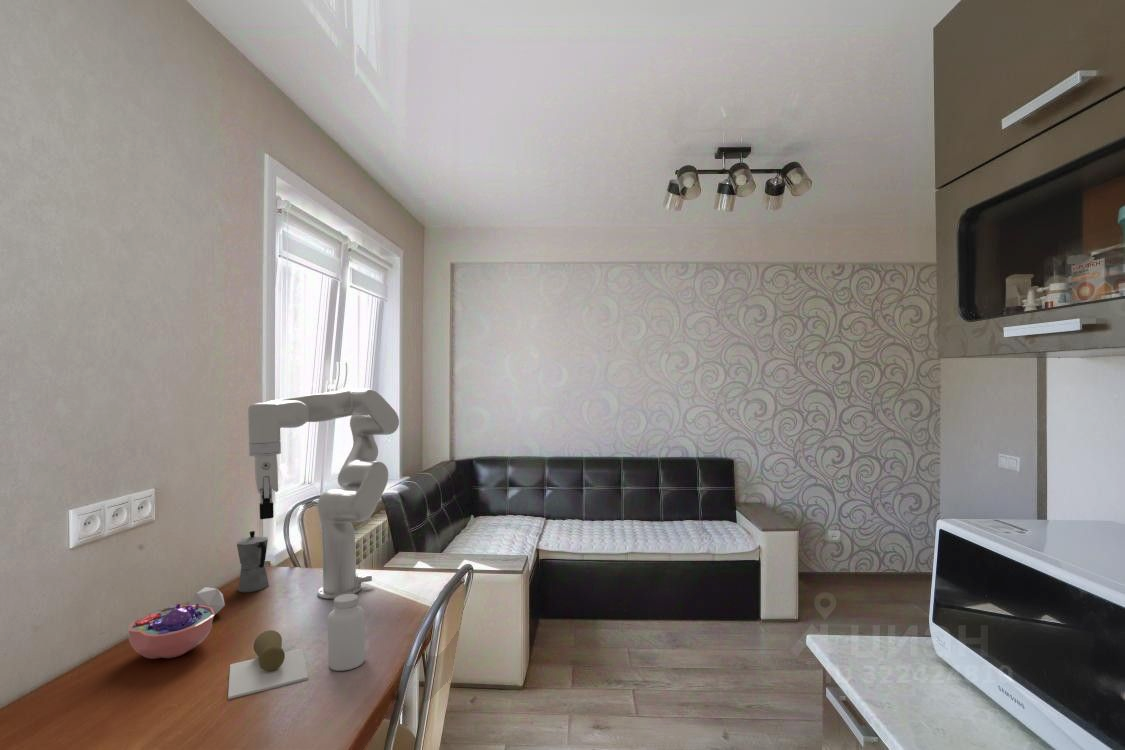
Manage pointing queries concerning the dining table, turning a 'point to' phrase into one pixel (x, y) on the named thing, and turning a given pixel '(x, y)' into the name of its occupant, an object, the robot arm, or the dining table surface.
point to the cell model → (171, 630)
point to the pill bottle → (346, 633)
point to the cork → (269, 650)
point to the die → (209, 599)
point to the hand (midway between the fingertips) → (266, 517)
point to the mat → (265, 674)
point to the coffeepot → (252, 563)
